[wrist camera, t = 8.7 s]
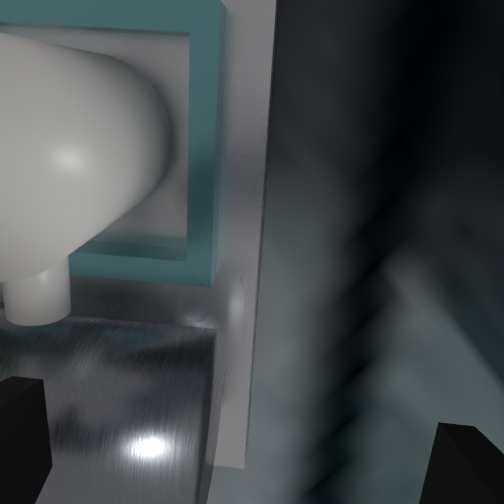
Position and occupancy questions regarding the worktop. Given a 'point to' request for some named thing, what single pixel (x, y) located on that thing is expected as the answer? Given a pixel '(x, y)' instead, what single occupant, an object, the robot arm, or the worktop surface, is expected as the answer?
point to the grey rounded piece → (68, 164)
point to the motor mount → (160, 261)
